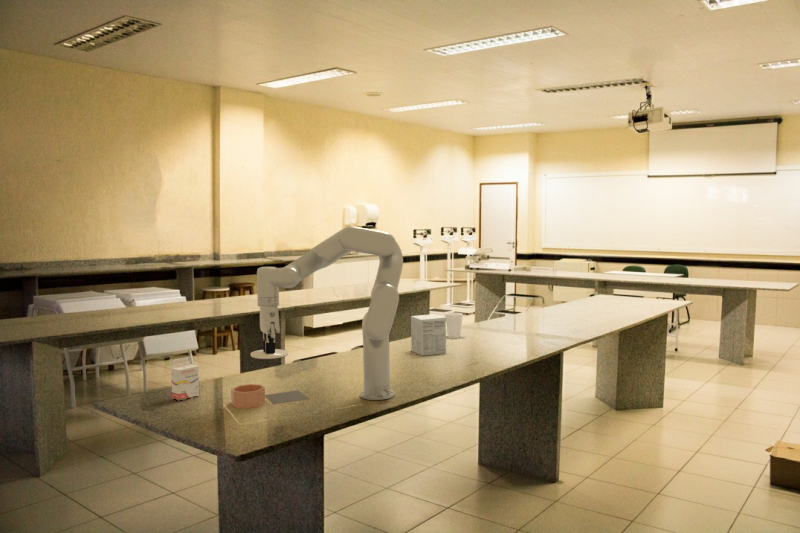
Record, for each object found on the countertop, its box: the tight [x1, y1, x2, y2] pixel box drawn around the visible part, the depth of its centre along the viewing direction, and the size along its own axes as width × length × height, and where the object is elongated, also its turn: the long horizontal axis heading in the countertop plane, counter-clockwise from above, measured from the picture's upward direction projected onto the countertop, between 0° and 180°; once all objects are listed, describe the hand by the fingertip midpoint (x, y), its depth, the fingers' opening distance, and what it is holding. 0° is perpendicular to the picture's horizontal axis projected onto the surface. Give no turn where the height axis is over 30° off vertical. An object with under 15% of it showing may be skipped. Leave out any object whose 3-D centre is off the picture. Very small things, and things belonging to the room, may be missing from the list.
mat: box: [265, 390, 310, 405], centre depth 226 cm, size 13×13×1 cm
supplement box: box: [410, 313, 447, 356], centre depth 301 cm, size 13×13×18 cm
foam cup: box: [444, 312, 463, 340], centre depth 339 cm, size 10×9×13 cm
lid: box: [250, 340, 289, 360], centre depth 222 cm, size 13×13×5 cm
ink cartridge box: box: [170, 356, 200, 399], centre depth 229 cm, size 9×5×15 cm, turn 141°
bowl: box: [230, 383, 266, 409], centre depth 219 cm, size 11×11×6 cm
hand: (269, 352), depth 222 cm, fingers closed on lid, 2 cm apart
